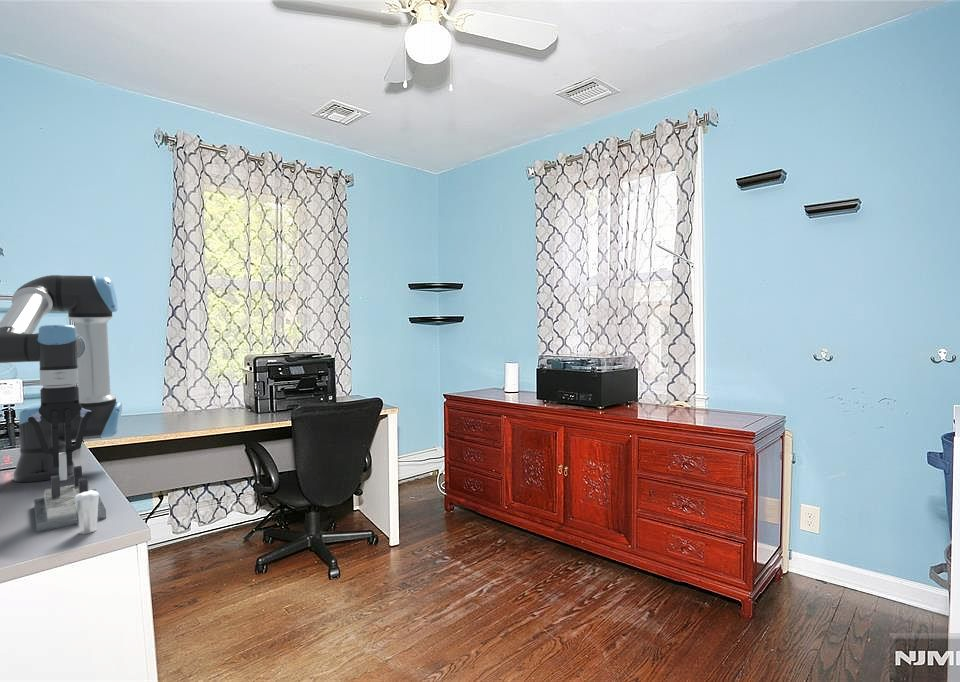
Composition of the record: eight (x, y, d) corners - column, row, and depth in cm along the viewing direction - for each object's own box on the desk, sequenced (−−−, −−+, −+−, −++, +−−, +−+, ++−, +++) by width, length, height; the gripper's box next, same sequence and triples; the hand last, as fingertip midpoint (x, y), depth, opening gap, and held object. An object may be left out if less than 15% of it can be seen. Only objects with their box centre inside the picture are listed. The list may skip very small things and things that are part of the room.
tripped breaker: (51, 495, 131) (50, 476, 131) (59, 493, 132) (58, 475, 132) (51, 497, 129) (51, 478, 129) (60, 496, 130) (59, 477, 130)
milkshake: (82, 527, 121) (81, 485, 121) (105, 527, 121) (103, 484, 121) (66, 535, 117) (64, 491, 117) (89, 535, 117) (88, 490, 117)
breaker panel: (34, 507, 137) (33, 470, 137) (95, 496, 146) (94, 461, 146) (36, 532, 119) (35, 490, 119) (106, 517, 128) (104, 478, 128)
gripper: (25, 389, 124) (29, 487, 125) (93, 385, 133) (96, 476, 133) (25, 387, 130) (28, 481, 130) (90, 382, 138) (93, 471, 139)
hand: (63, 478), depth 132 cm, fingers closed
